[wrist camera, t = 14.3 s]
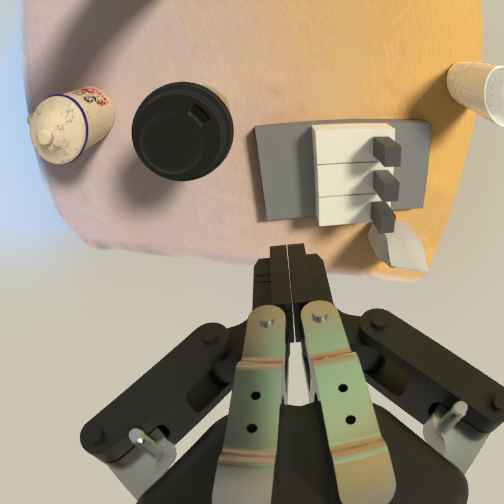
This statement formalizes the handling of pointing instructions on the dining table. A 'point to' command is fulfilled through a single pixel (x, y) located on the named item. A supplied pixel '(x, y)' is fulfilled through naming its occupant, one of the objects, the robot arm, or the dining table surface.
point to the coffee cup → (183, 130)
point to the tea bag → (399, 248)
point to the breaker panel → (299, 165)
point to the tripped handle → (386, 185)
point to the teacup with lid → (70, 123)
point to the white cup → (478, 88)
